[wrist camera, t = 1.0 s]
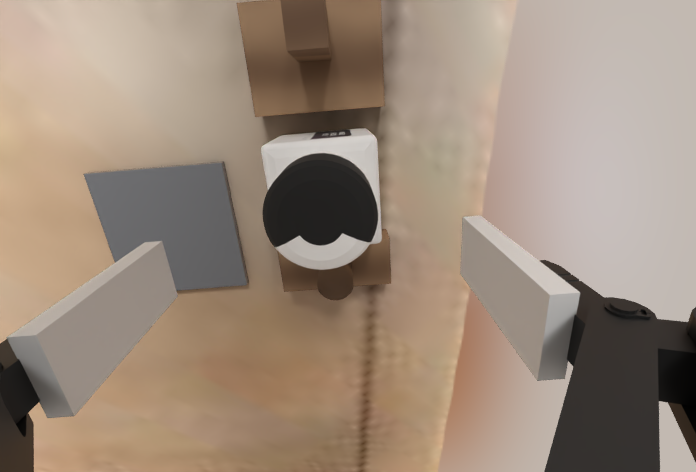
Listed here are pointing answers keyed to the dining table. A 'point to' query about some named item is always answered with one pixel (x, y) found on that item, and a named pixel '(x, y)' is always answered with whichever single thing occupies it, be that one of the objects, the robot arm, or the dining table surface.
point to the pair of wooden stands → (318, 95)
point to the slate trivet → (174, 220)
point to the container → (322, 196)
